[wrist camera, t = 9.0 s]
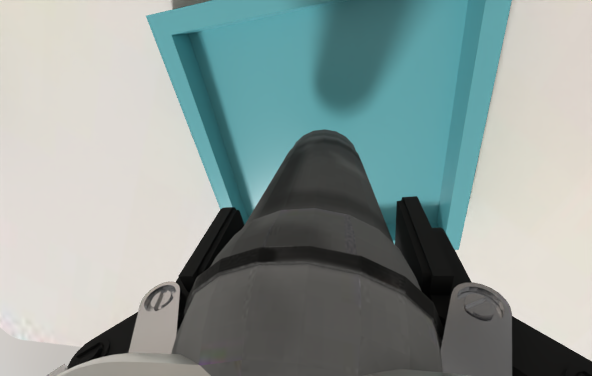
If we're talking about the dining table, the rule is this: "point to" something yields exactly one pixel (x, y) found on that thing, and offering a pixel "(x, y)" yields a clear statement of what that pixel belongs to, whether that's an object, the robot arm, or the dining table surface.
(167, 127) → the dining table surface
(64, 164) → the dining table surface
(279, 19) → the tray
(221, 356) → the beverage cup
